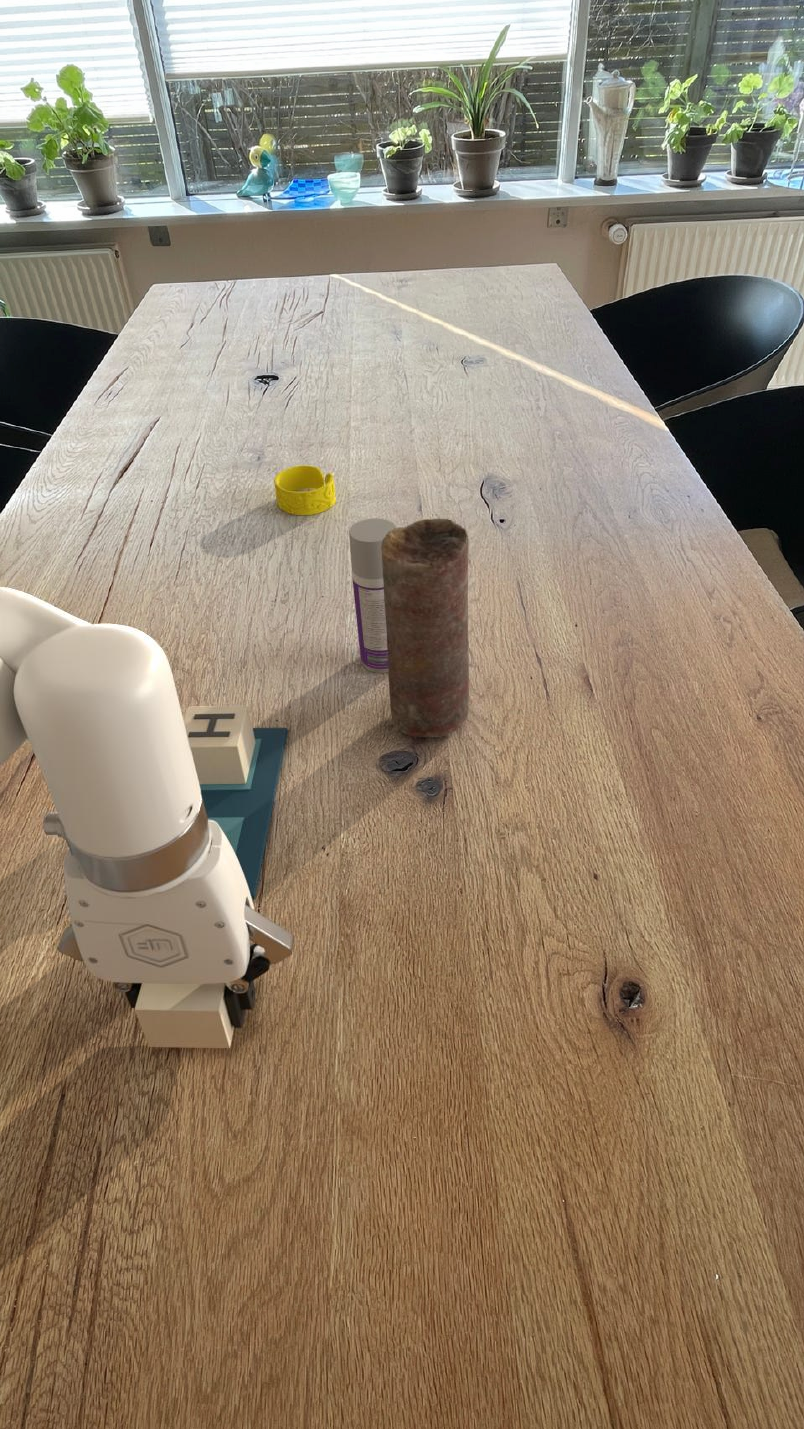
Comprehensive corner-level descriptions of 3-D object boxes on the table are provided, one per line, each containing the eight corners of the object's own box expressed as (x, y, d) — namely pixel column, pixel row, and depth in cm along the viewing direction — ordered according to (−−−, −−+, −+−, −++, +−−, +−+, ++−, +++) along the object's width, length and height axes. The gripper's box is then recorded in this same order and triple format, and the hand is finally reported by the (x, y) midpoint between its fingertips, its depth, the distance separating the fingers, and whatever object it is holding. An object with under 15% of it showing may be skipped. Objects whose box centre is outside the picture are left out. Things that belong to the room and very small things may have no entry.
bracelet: (306, 521, 121) (302, 498, 119) (265, 503, 125) (261, 480, 123) (347, 499, 125) (344, 476, 123) (305, 482, 129) (302, 460, 127)
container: (366, 644, 100) (354, 516, 90) (410, 647, 99) (402, 518, 89) (355, 671, 96) (342, 541, 87) (401, 675, 95) (392, 544, 86)
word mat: (117, 899, 75) (115, 895, 75) (173, 733, 90) (172, 728, 90) (254, 899, 74) (253, 894, 74) (287, 731, 90) (287, 726, 89)
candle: (477, 742, 87) (477, 552, 74) (398, 754, 86) (384, 565, 73) (460, 691, 93) (456, 507, 80) (386, 702, 92) (370, 518, 79)
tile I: (148, 1047, 64) (133, 1008, 61) (167, 976, 68) (154, 937, 65) (229, 1048, 63) (218, 1010, 60) (243, 977, 67) (233, 938, 64)
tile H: (184, 784, 84) (173, 746, 81) (197, 743, 88) (187, 705, 85) (246, 784, 84) (237, 745, 81) (255, 742, 88) (247, 704, 85)
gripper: (-34, 880, 51) (57, 1056, 63) (282, 883, 50) (314, 1061, 62) (14, 782, 57) (89, 960, 69) (299, 782, 56) (326, 963, 68)
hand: (196, 1006), depth 65 cm, fingers closed on tile I, 5 cm apart
